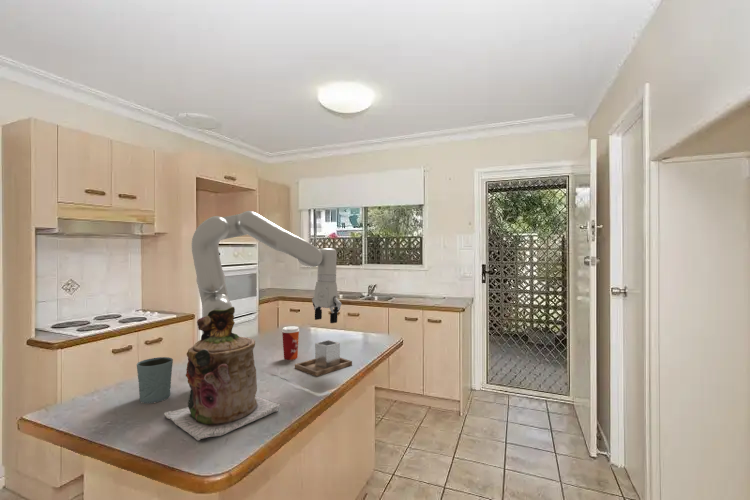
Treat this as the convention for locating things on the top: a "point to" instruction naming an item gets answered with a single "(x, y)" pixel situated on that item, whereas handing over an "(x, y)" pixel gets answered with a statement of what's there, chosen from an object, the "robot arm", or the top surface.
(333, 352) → the square metal container
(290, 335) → the paper cup
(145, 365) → the teal cup
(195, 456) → the top surface
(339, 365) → the walnut tray
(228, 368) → the cookie jar
